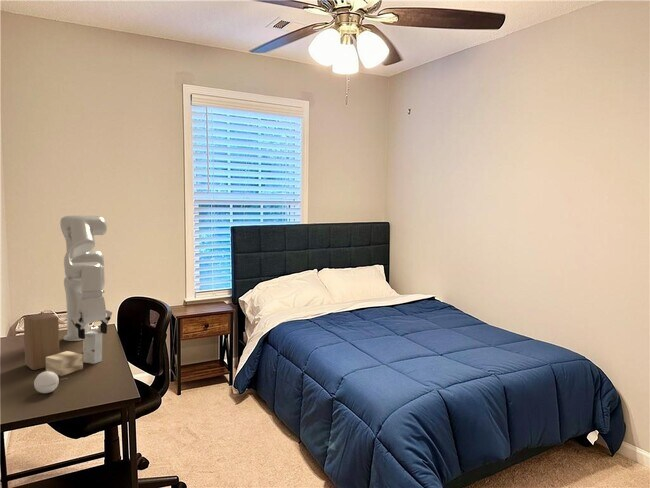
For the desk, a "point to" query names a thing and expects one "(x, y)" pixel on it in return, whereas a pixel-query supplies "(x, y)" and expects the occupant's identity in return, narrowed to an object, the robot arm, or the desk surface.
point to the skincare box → (92, 347)
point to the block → (40, 339)
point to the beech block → (64, 362)
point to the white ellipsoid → (46, 382)
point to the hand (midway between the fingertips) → (92, 335)
